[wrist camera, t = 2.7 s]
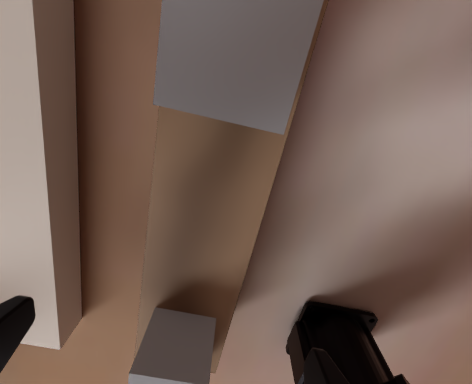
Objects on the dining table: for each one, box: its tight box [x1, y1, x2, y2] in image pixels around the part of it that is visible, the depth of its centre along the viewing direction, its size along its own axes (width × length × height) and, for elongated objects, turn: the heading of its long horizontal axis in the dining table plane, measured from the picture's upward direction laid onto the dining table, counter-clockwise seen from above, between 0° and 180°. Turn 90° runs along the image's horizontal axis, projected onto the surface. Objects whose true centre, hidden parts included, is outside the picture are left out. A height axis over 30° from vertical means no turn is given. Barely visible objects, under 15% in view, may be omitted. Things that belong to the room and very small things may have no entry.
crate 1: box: [128, 307, 216, 384], centre depth 15 cm, size 4×4×4 cm
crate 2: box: [153, 0, 324, 135], centre depth 9 cm, size 4×4×4 cm
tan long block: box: [134, 0, 329, 373], centre depth 16 cm, size 6×24×5 cm, turn 167°
